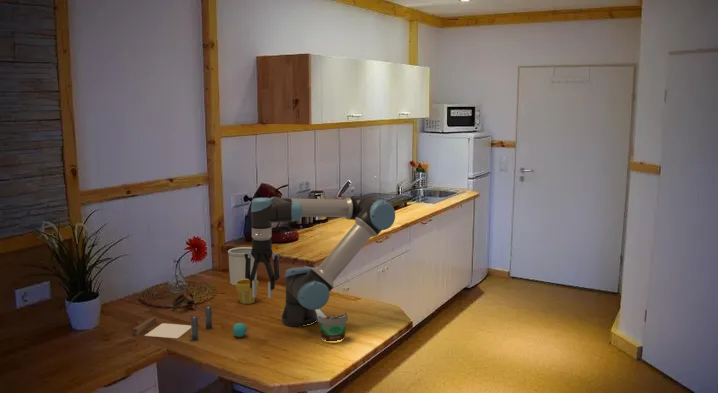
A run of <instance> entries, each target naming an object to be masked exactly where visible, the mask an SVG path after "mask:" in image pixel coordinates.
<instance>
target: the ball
mask: <svg viewBox="0 0 718 393" xmlns="http://www.w3.org/2000/svg"><path fill="white" fill-rule="evenodd" d="M247 332H248V328H247V325H246V324H245V323H243V322H238V323H235V324H234V325H233V327H232V333H233V335H234V336H235V337H237V338H242V337H244V336H246V334H247Z"/></svg>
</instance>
